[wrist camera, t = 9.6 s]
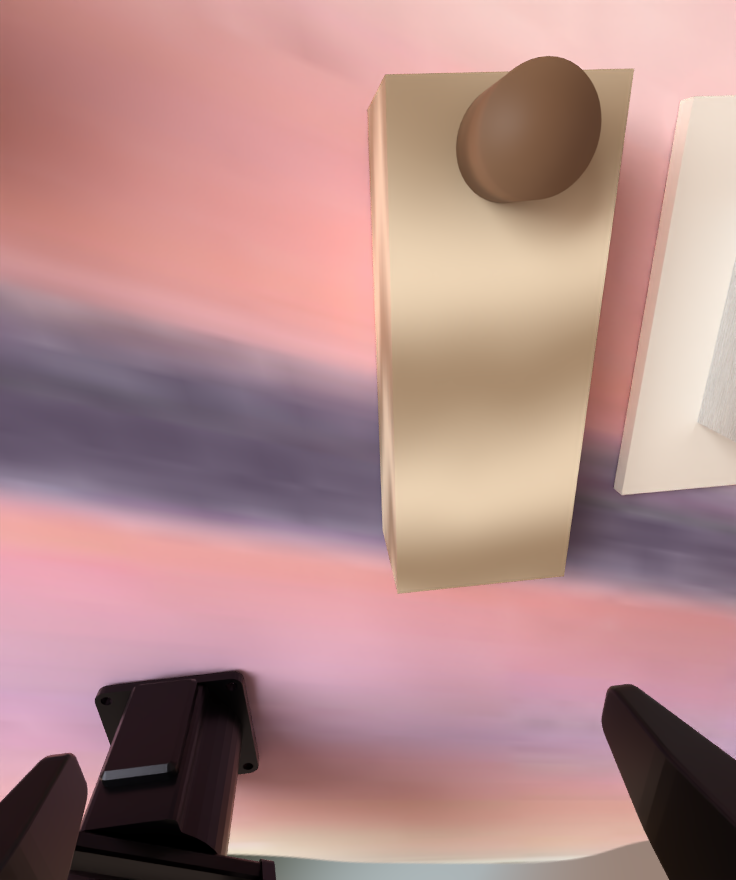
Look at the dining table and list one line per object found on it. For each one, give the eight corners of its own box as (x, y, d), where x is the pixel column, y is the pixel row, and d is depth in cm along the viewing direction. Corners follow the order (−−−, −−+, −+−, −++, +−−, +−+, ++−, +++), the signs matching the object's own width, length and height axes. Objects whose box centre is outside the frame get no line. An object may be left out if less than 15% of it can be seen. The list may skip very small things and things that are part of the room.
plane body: (521, 516, 22) (592, 615, 16) (382, 529, 21) (407, 636, 16) (558, 104, 16) (691, 41, 10) (367, 109, 15) (398, 47, 10)
